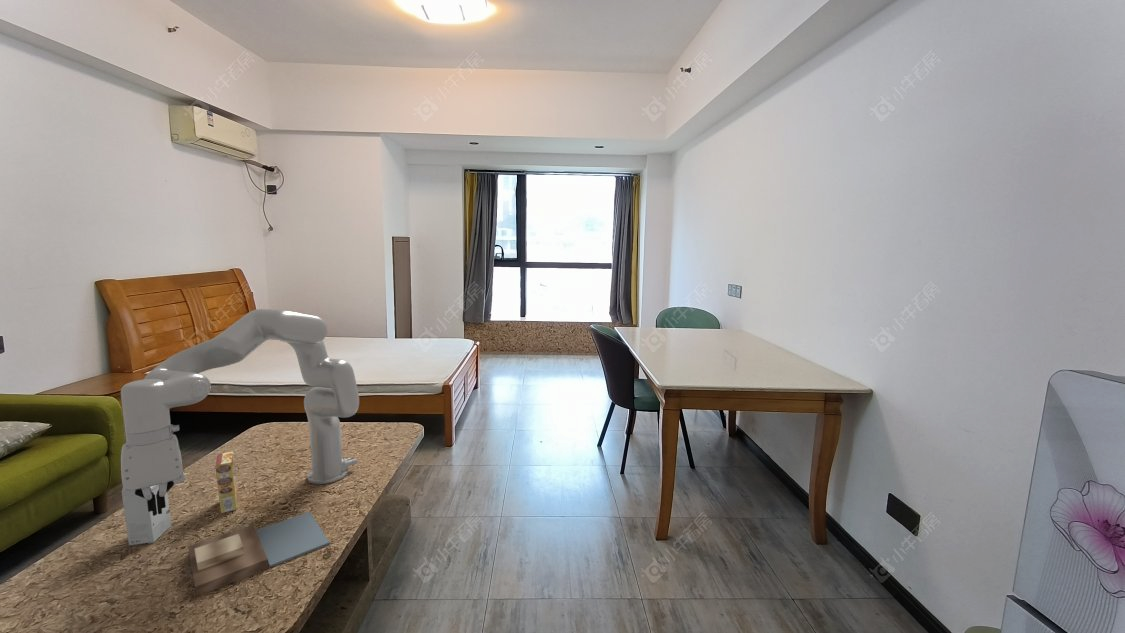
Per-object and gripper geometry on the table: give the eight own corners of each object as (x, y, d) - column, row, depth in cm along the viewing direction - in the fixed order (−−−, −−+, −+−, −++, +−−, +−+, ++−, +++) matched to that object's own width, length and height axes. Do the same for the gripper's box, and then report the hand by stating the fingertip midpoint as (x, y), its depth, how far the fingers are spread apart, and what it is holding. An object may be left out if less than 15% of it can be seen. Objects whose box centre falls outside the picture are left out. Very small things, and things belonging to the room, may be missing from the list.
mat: (310, 513, 136) (309, 511, 136) (329, 544, 122) (329, 542, 122) (255, 532, 127) (255, 530, 127) (270, 567, 113) (269, 565, 113)
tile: (239, 540, 119) (238, 533, 119) (244, 554, 114) (243, 546, 114) (195, 555, 113) (194, 548, 113) (198, 570, 108) (197, 563, 108)
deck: (254, 532, 126) (253, 524, 126) (268, 568, 113) (267, 559, 112) (189, 554, 117) (188, 545, 117) (196, 596, 103) (195, 586, 103)
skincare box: (153, 543, 121) (147, 491, 119) (127, 546, 120) (119, 493, 118) (172, 525, 129) (167, 475, 127) (147, 527, 128) (141, 477, 126)
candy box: (237, 510, 137) (232, 461, 135) (219, 514, 135) (214, 465, 133) (238, 496, 145) (234, 450, 142) (221, 500, 142) (217, 453, 140)
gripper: (190, 422, 109) (197, 494, 112) (102, 438, 99) (112, 517, 102) (193, 432, 104) (200, 507, 106) (100, 450, 94) (110, 532, 96)
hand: (157, 512), depth 104 cm, fingers closed
